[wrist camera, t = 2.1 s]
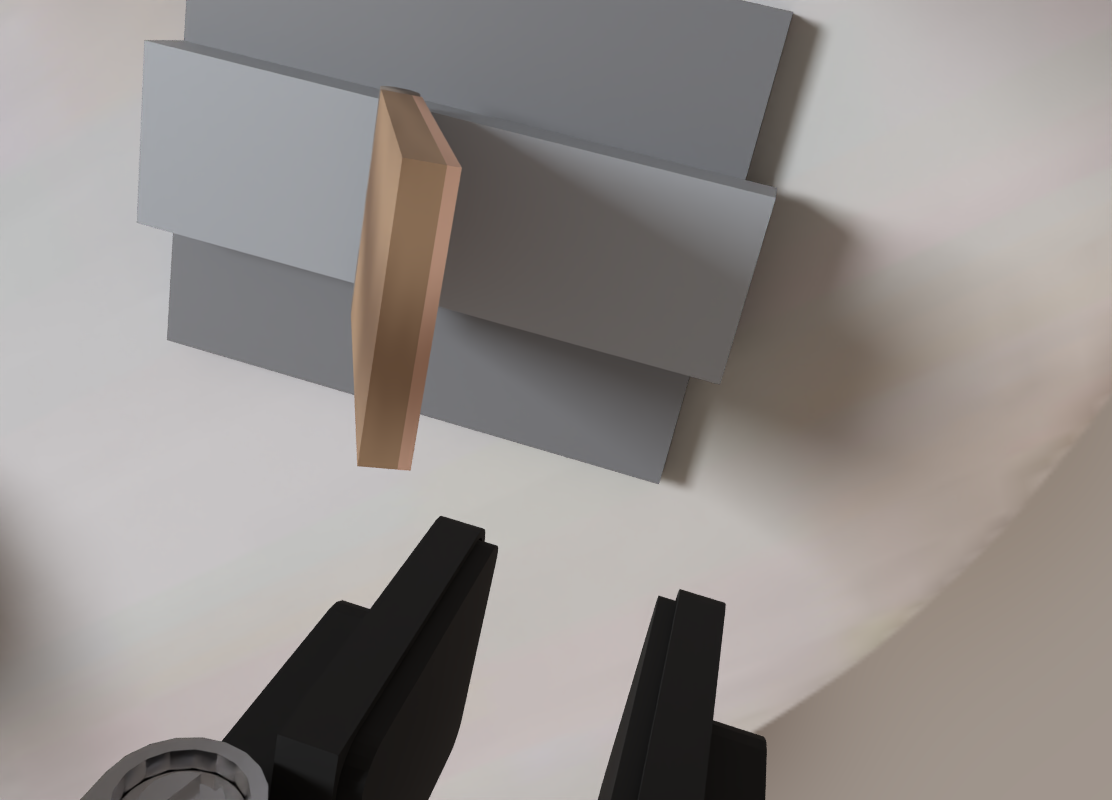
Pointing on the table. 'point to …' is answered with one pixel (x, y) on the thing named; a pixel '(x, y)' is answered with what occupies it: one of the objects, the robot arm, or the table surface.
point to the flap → (399, 274)
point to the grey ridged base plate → (475, 197)
